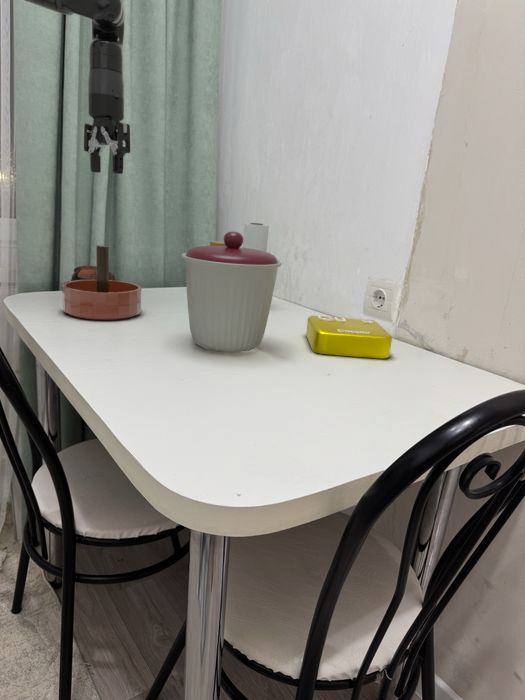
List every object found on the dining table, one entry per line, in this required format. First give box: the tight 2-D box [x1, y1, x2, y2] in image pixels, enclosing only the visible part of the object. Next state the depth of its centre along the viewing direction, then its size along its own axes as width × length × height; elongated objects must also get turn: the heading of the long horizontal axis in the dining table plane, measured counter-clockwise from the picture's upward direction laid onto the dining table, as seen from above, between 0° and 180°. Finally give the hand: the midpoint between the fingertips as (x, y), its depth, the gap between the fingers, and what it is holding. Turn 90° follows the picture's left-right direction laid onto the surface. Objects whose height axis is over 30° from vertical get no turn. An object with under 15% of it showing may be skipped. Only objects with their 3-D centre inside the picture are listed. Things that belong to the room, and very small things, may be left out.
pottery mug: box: [70, 265, 116, 281], centre depth 131 cm, size 12×10×8 cm
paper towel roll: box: [242, 222, 270, 252], centre depth 130 cm, size 7×6×21 cm
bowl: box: [61, 280, 142, 321], centre depth 112 cm, size 16×16×6 cm
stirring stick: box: [95, 245, 110, 292], centre depth 110 cm, size 5×5×14 cm
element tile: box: [305, 314, 393, 360], centre depth 102 cm, size 15×15×5 cm
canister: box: [180, 231, 283, 353], centre depth 93 cm, size 18×18×21 cm
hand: (106, 172), depth 116 cm, fingers open, 8 cm apart
